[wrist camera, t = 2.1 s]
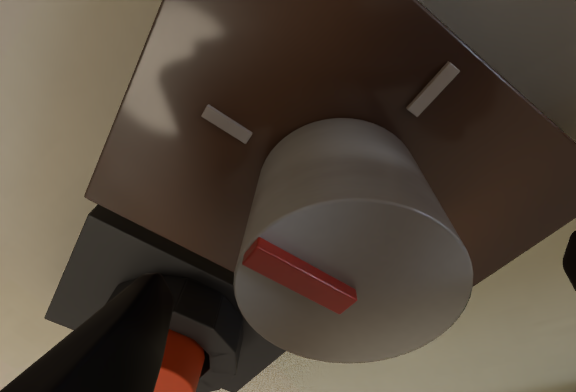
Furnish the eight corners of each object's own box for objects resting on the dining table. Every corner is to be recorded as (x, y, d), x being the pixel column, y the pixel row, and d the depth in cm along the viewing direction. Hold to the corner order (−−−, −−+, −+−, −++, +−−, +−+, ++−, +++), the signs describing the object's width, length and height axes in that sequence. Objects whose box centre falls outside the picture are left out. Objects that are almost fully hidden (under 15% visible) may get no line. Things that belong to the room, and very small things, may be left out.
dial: (454, 178, 10) (538, 295, 6) (347, 272, 12) (363, 398, 8) (321, 80, 8) (329, 155, 5) (230, 206, 11) (189, 321, 7)
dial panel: (559, 143, 12) (629, 189, 9) (371, 293, 17) (383, 351, 14) (252, -127, 9) (227, -174, 6) (125, 157, 13) (79, 200, 11)
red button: (219, 346, 15) (209, 386, 13) (185, 380, 16) (173, 419, 15) (142, 313, 14) (122, 352, 12) (114, 353, 15) (94, 392, 14)
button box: (316, 297, 17) (317, 363, 14) (239, 366, 21) (228, 428, 18) (110, 191, 14) (58, 245, 11) (64, 292, 18) (17, 352, 15)
